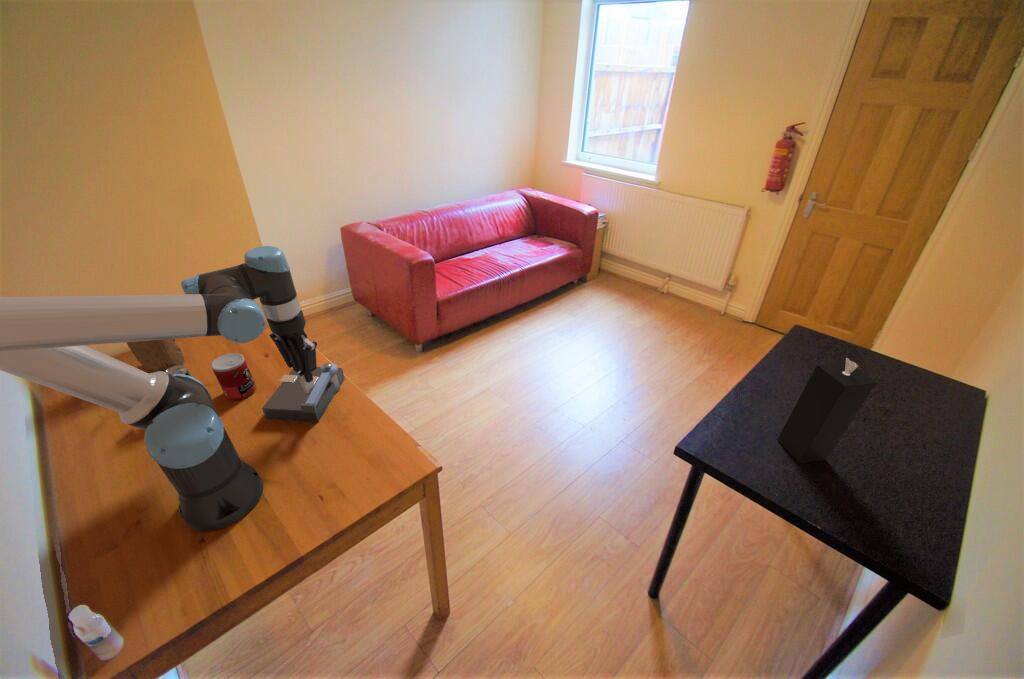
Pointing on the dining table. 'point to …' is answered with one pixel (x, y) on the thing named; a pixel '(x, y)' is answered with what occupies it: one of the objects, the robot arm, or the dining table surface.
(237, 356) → the canned food
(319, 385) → the swing bar
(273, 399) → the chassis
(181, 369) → the soda can
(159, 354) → the brown rough lump
